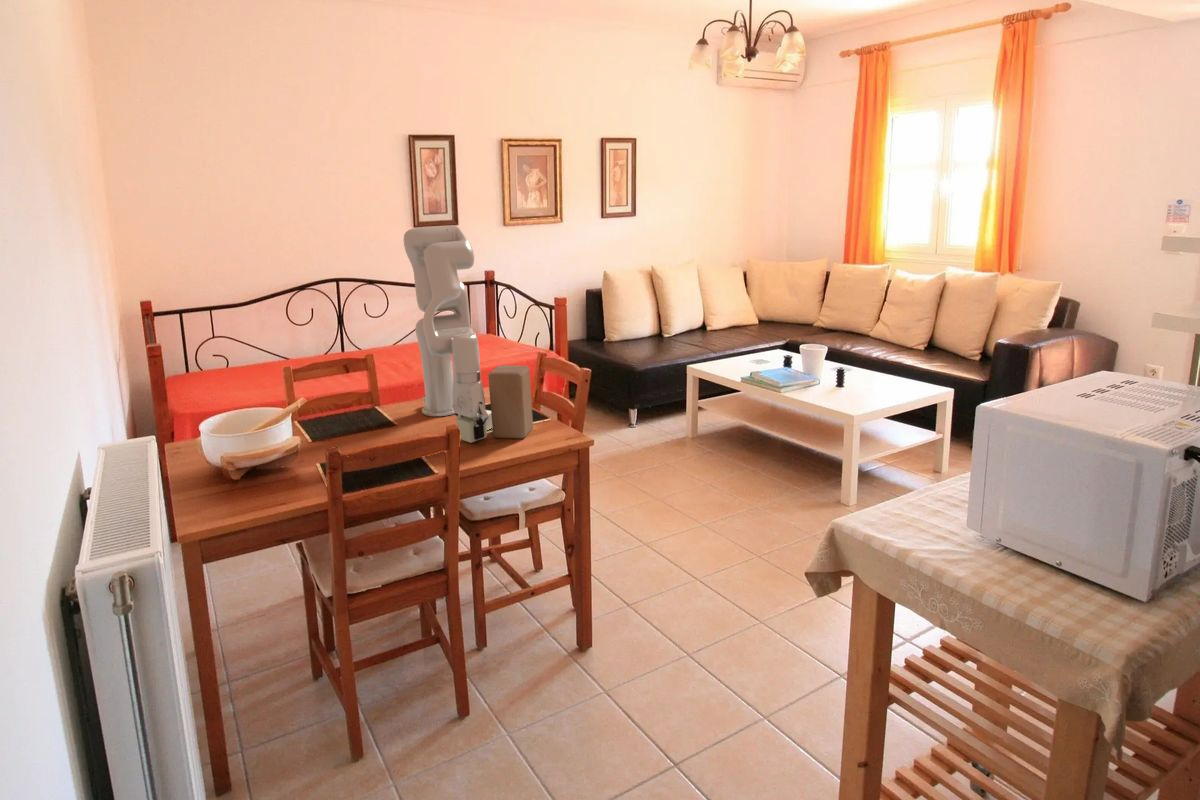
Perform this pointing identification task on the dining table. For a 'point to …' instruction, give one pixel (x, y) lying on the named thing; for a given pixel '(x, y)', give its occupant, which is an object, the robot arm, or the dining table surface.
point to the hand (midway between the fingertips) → (472, 435)
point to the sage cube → (468, 428)
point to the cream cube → (488, 420)
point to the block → (510, 401)
